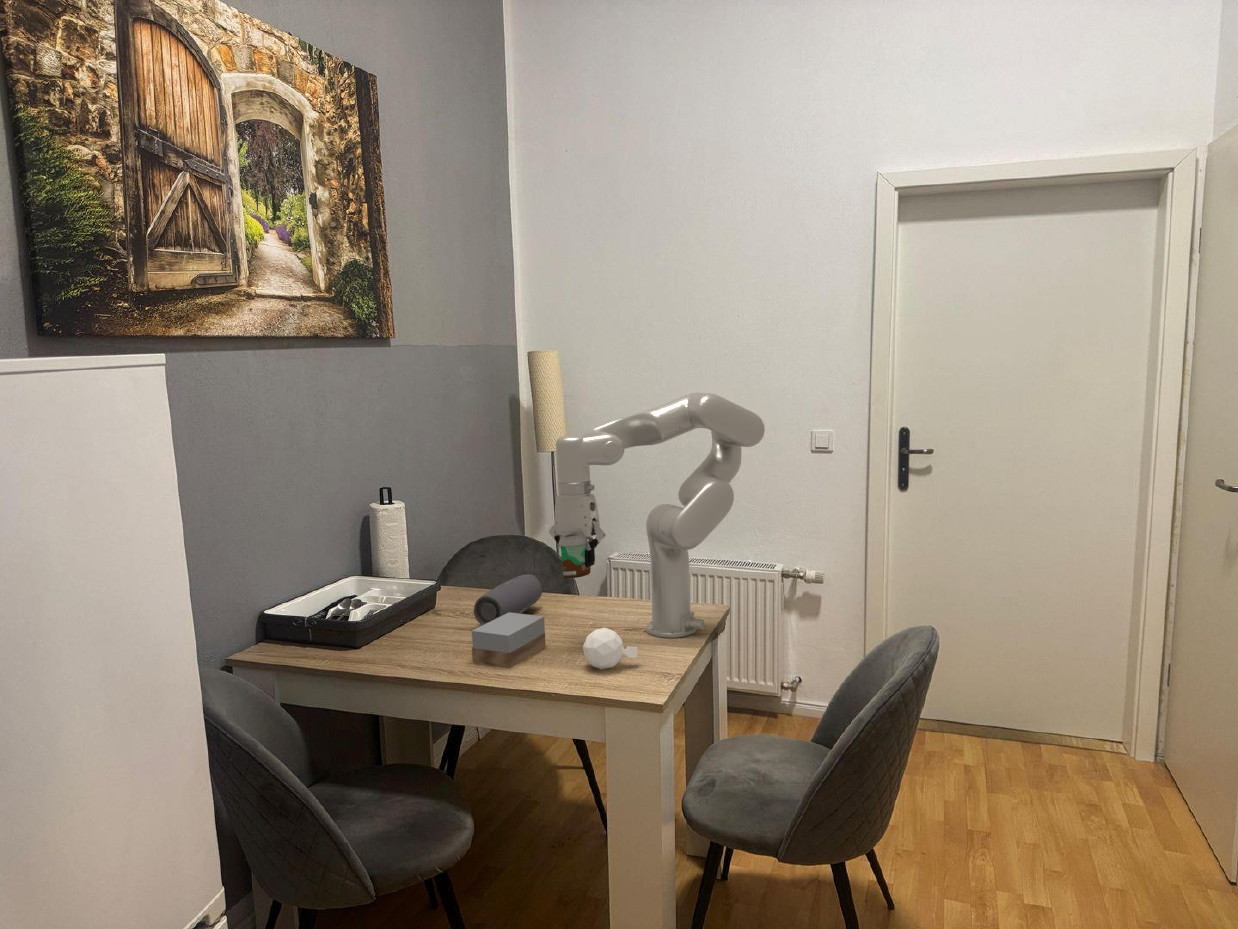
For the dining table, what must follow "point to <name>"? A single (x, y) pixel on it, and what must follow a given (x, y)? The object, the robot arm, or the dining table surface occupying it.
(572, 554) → the food container
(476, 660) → the walnut slab
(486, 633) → the grey slab
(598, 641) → the perfume bottle
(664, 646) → the dining table surface
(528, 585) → the bluetooth speaker
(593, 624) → the dining table surface
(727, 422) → the robot arm
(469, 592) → the dining table surface
